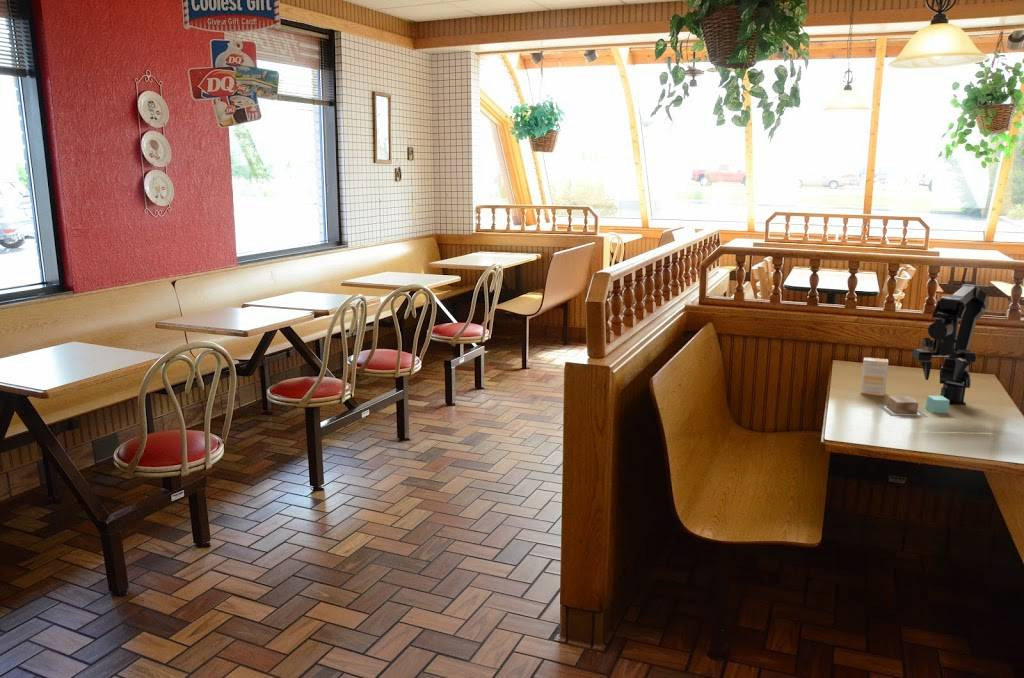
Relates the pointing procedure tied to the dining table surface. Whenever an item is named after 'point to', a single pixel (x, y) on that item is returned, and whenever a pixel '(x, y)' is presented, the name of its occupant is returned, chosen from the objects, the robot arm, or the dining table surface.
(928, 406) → the teal cube
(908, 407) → the walnut block
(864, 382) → the supplement box
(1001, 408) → the dining table surface
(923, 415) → the mat
